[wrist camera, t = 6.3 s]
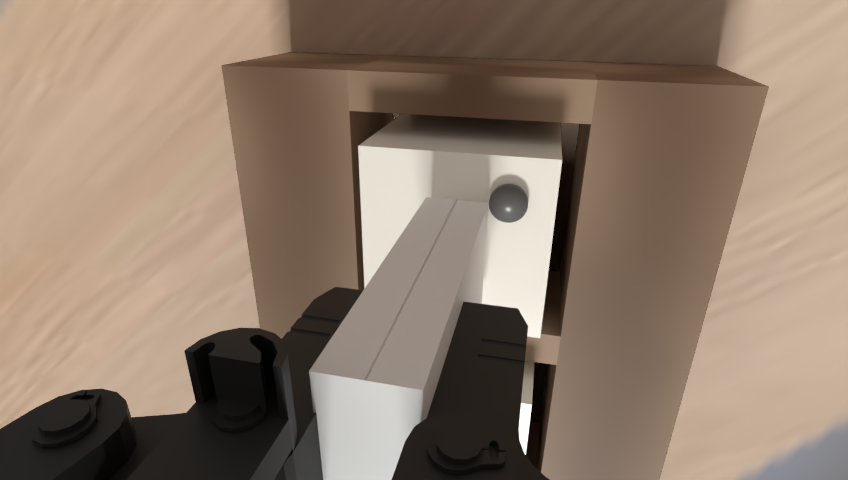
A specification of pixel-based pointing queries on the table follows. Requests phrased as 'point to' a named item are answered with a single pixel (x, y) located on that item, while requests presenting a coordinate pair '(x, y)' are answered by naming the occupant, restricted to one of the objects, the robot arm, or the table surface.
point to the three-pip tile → (469, 195)
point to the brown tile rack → (585, 228)
